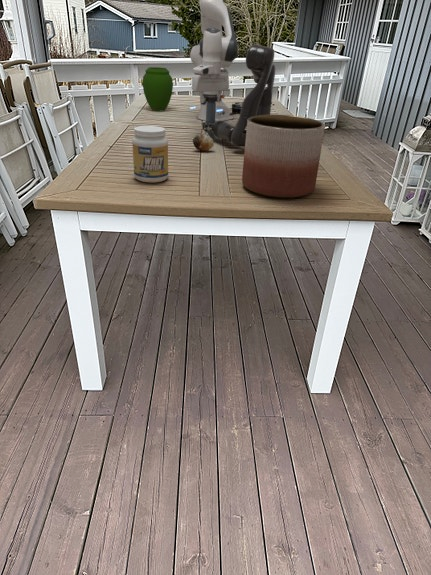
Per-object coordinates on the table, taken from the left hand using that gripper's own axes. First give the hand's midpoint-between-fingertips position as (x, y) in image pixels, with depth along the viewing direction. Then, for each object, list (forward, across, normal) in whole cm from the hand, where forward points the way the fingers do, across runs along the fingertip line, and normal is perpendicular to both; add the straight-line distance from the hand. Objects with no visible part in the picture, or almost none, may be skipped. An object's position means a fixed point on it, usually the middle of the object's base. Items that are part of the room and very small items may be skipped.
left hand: (210, 101), depth 198 cm
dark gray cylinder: (+17, 0, 0) cm, 17 cm away
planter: (+17, +28, +75) cm, 82 cm away
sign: (+17, -74, -55) cm, 94 cm away
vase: (+17, -18, -78) cm, 82 cm away
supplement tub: (+17, +60, +44) cm, 76 cm away
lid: (-2, 0, 0) cm, 2 cm away
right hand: (+11, -1, -2) cm, 11 cm away
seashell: (+17, +20, +21) cm, 33 cm away
